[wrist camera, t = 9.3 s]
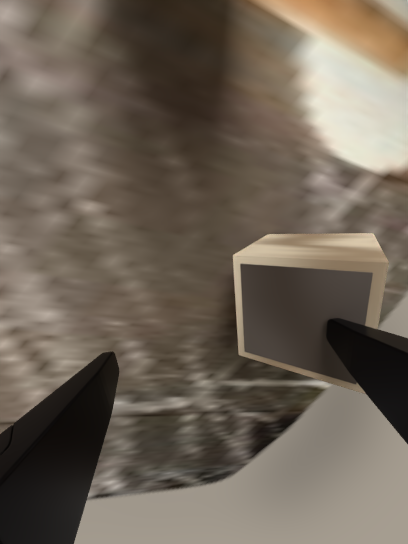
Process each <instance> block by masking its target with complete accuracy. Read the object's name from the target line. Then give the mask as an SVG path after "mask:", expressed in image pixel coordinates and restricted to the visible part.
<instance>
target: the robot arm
mask: <svg viewBox="0 0 408 544" xmlns="http://www.w3.org/2000/svg"><path fill="white" fill-rule="evenodd" d="M326 338H327V341H328V343H329V344H330V346H331V347H332V349H333V350H334V351H335V353H336V354H337V356H338V357H339V359H340V360H341V362H342V363H343V365H344V366H345V368H346V369H347V370H348V372H349V373H350V374H351V376H352V377H353V378H354V380H355V381H356V382H357V383H358V384H359V386H360V387H361V388H362V389H363V390H364V392H365V393H366V394H367V395H368V396H369V398H370V399H371V400H372V401H373V403H374V404H375V405H376V406H377V407H378V409H379V410H380V411H381V412H382V413H383V415H384V416H385V417H386V418H387V420H388V421H389V422H390V423H391V424H392V426H393V427H394V428H395V429H396V431H397V432H398V433H399V434H400V436H401V437H402V438H403V439H404V440H405V442H406V443H407V444H408V338H404V337H402V336H398V335H395V334H391V333H388V332H385V331H381V330H378V329H375V328H371V327H368V326H365V325H361V324H358V323H354V322H351V321H348V320H344V319H341V318H333V319H329V320H328V321H327V330H326ZM118 377H119V367H118V363H117V359H116V356H115V353H114V352H105V353H102V354H101V355H99V356H98V357H97V358H96V359H94V360H93V361H92V362H91V363H89V364H88V365H87V366H86V367H84V368H83V369H82V370H81V371H79V372H78V373H77V374H75V375H74V376H73V377H72V378H70V379H69V380H68V381H67V382H65V383H64V384H63V385H62V386H60V387H59V388H58V389H57V390H55V391H54V392H53V393H52V394H50V395H49V396H48V397H47V398H45V399H44V400H43V401H41V402H40V403H39V404H38V405H36V406H35V407H34V408H33V409H31V410H30V411H29V412H28V413H26V414H25V415H24V416H23V417H21V418H20V419H19V420H18V421H16V422H15V423H14V425H11V426H10V427H9V428H7V429H6V430H5V431H4V432H2V433H1V434H0V544H74V541H75V537H76V534H77V530H78V527H79V524H80V521H81V517H82V514H83V510H84V507H85V503H86V500H87V497H88V493H89V490H90V486H91V483H92V480H93V476H94V473H95V469H96V466H97V462H98V459H99V456H100V452H101V449H102V445H103V442H104V438H105V435H106V432H107V428H108V425H109V421H110V418H111V414H112V409H113V404H114V399H115V393H116V388H117V382H118Z"/></svg>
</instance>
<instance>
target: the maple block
mask: <svg viewBox="0 0 408 544" xmlns="http://www.w3.org/2000/svg"><path fill="white" fill-rule="evenodd" d="M388 265H389V262H388V260H387V258H386V257H385V255H384V253H383V251H382V249H381V247H380V245H379V243H378V241H377V240H376V238H375V236H374V234H373V233H357V234H268V235H266V236H264V237H263V238H261V239H259V240H258V241H256V242H254V243H253V244H251V245H249V246H248V247H246V248H244V249H243V250H241V251H239V252H238V253H236V254H234V255H233V267H234V284H235V301H236V317H237V334H238V351H239V355H241V356H244V357H247V358H250V359H253V360H257V361H260V362H263V363H266V364H270V365H273V366H276V367H279V368H283V369H286V370H289V371H292V372H296V373H299V374H302V375H305V376H309V377H312V378H315V379H318V380H322V381H325V382H328V383H331V384H334V385H338V386H341V387H344V388H348V389H351V390H354V391H357V392H361V393H364V394H366V393H365V392H364V390H363V389H362V388H361V387H360V386H359V384H358V383H357V382H356V381H355V380H354V378H353V377H352V376H351V374H350V373H349V372H348V370H347V369H346V368H345V366H344V365H343V363H342V362H341V360H340V359H339V357H338V356H337V354H336V353H335V351H334V350H333V349H332V347H331V346H330V344H329V343H328V341H327V338H326V330H327V321H328V320H329V319H333V318H341V319H344V320H348V321H351V322H354V323H358V324H361V325H365V326H368V327H371V328H375V329H378V323H379V317H380V311H381V305H382V299H383V294H384V288H385V282H386V276H387V270H388Z"/></svg>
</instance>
